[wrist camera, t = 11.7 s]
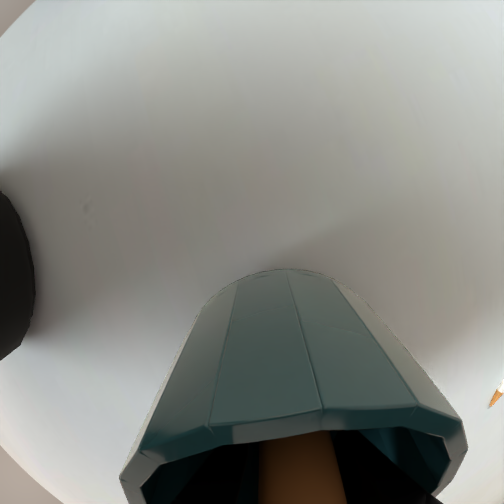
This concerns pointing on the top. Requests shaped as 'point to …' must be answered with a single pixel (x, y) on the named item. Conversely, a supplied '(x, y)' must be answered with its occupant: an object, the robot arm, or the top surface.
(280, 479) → the tan wooden dowel
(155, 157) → the top surface
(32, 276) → the coffee jar
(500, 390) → the pencil
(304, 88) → the top surface
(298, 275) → the teal cup
